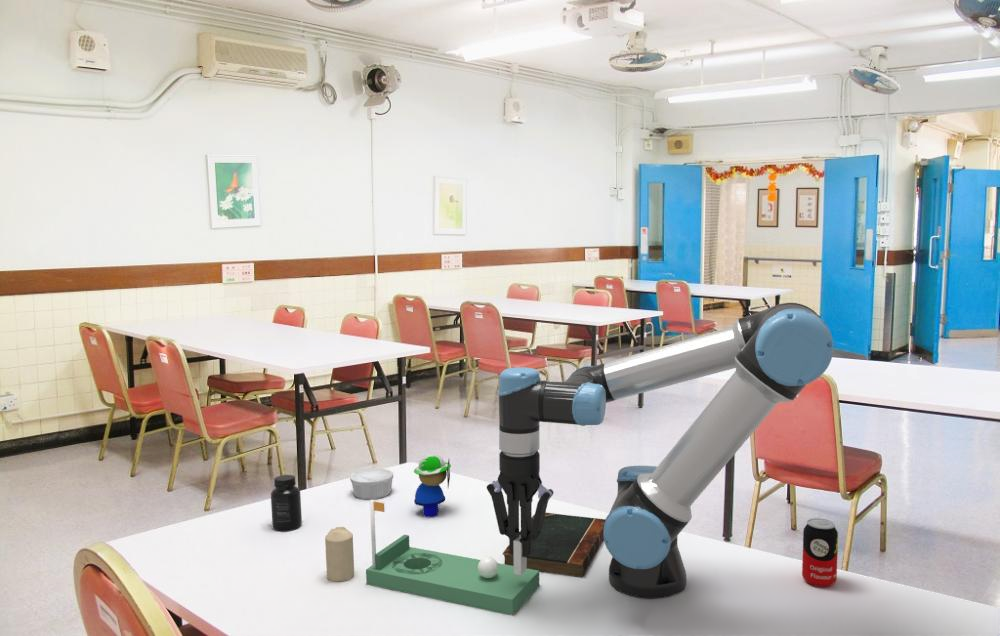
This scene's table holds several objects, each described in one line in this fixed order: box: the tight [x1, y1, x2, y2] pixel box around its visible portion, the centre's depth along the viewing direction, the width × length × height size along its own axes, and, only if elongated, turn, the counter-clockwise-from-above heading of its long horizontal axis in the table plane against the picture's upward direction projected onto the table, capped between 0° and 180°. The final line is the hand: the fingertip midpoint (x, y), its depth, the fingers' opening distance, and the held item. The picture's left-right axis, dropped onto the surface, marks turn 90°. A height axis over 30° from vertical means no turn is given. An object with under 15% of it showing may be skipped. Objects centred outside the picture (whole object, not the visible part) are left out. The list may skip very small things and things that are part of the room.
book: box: [502, 512, 606, 578], centre depth 175 cm, size 17×4×25 cm
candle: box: [324, 526, 355, 583], centre depth 163 cm, size 6×6×10 cm
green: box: [365, 499, 540, 616], centre depth 158 cm, size 32×13×17 cm, turn 65°
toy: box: [413, 453, 452, 518], centre depth 197 cm, size 9×9×15 cm
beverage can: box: [801, 517, 839, 588], centre depth 157 cm, size 6×6×12 cm
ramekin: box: [349, 467, 394, 500], centre depth 212 cm, size 11×11×5 cm
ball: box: [478, 556, 499, 578], centre depth 155 cm, size 4×4×4 cm
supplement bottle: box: [270, 474, 303, 532], centre depth 190 cm, size 7×7×12 cm
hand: (520, 571), depth 152 cm, fingers closed
